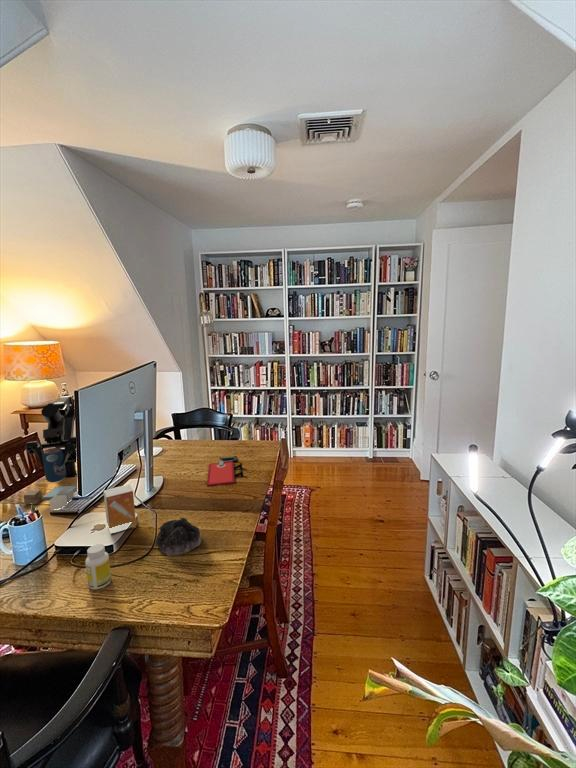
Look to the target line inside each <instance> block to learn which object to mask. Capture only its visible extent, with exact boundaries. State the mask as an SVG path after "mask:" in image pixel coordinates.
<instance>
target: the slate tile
mask: <svg viewBox="0 0 576 768" xmlns="http://www.w3.org/2000/svg"><path fill="white" fill-rule="evenodd" d="M77 486H78V485H70V486H67V485H66V486H54V487H53V488H52V489H50V491H48V492H47V493H46V494H45V495H44V496H42V501H43V500H51V499H52V498H53V497H54V496H56V495H57V494H58V493H59V492H60V491H61V490H64V489H73V493H75V491H77V490H78V488H77Z"/></svg>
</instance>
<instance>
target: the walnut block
mask: <svg viewBox="0 0 576 768" xmlns="http://www.w3.org/2000/svg"><path fill="white" fill-rule="evenodd" d="M42 497H43V496H42V490H41V489H33V490H32V489H31V490H28V491H27V492H26V493H24V494H23V501H24V505H25V504H30V503H33V504H32V505H36V504H38V503H40V502H41V501H43V498H42Z"/></svg>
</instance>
